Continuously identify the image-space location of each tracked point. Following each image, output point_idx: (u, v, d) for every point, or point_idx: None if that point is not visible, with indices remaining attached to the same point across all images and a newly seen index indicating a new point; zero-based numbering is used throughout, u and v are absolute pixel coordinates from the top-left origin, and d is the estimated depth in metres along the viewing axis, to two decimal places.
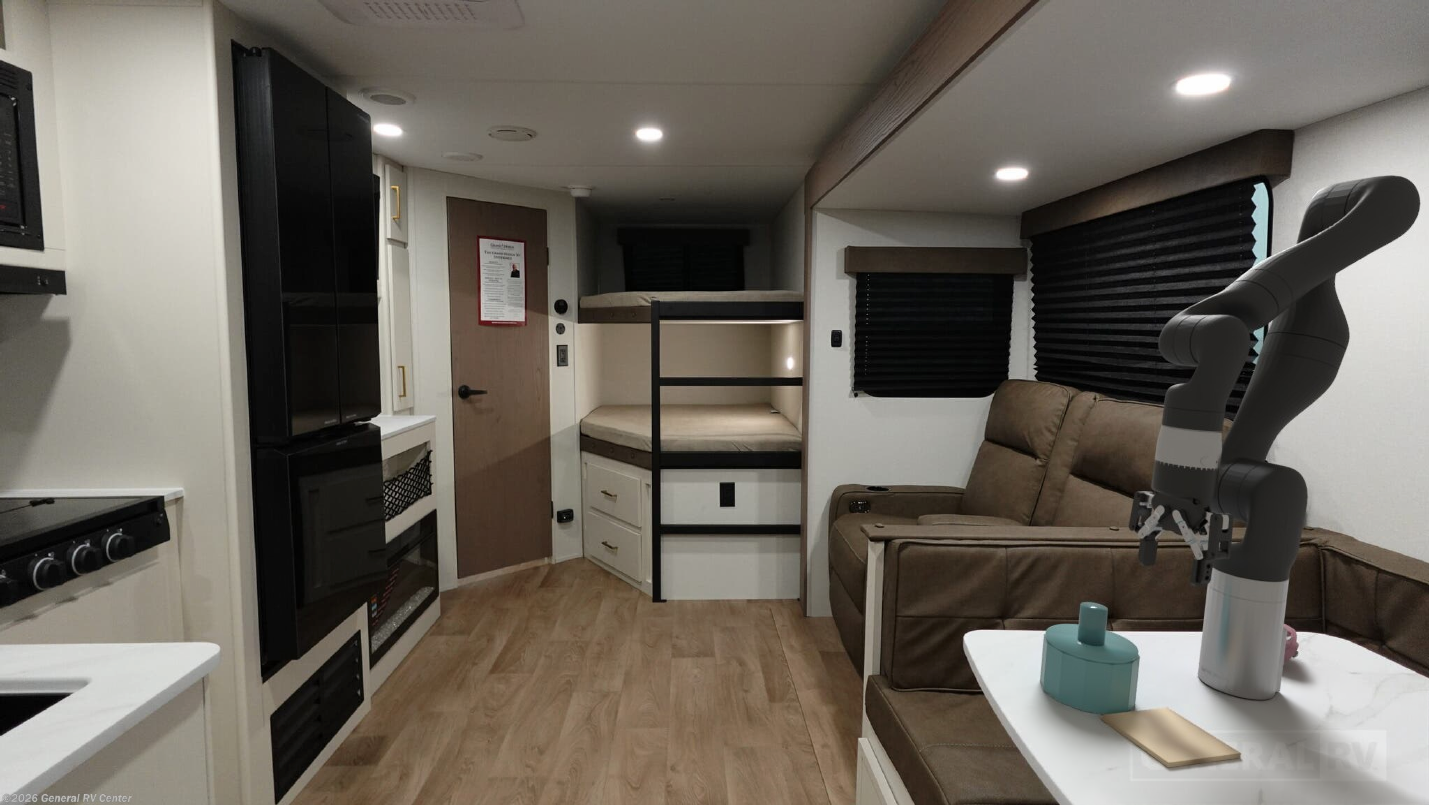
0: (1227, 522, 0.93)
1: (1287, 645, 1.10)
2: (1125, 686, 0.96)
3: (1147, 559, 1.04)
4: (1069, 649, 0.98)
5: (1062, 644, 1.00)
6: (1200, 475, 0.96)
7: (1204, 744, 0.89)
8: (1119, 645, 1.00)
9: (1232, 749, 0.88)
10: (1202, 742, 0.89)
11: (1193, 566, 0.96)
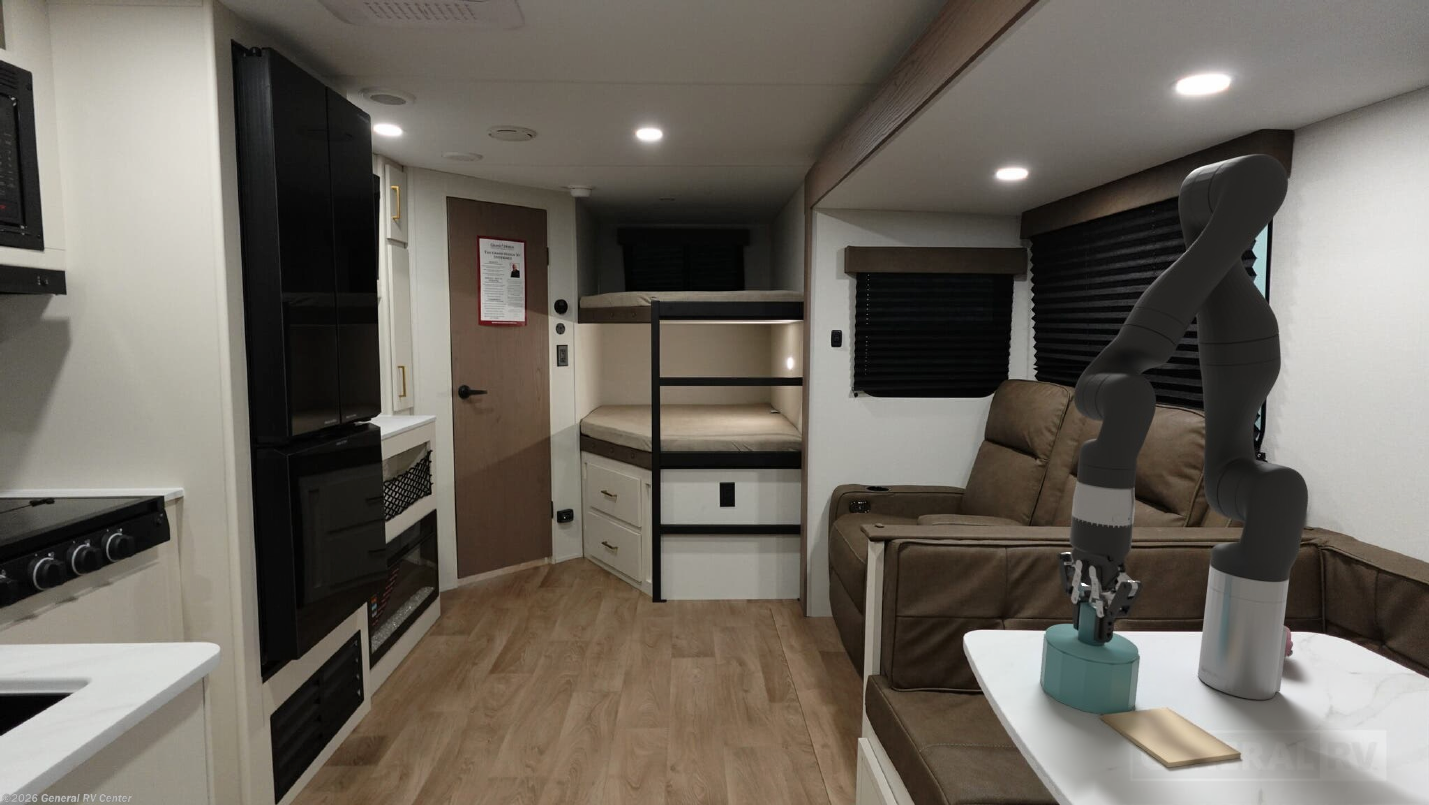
0: (1135, 591, 0.94)
1: None
2: (1125, 686, 0.96)
3: None
4: (1069, 649, 0.98)
5: (1062, 644, 1.00)
6: (1113, 533, 0.96)
7: (1204, 744, 0.89)
8: (1120, 645, 1.00)
9: (1232, 749, 0.88)
10: (1202, 742, 0.89)
11: (1096, 623, 0.99)
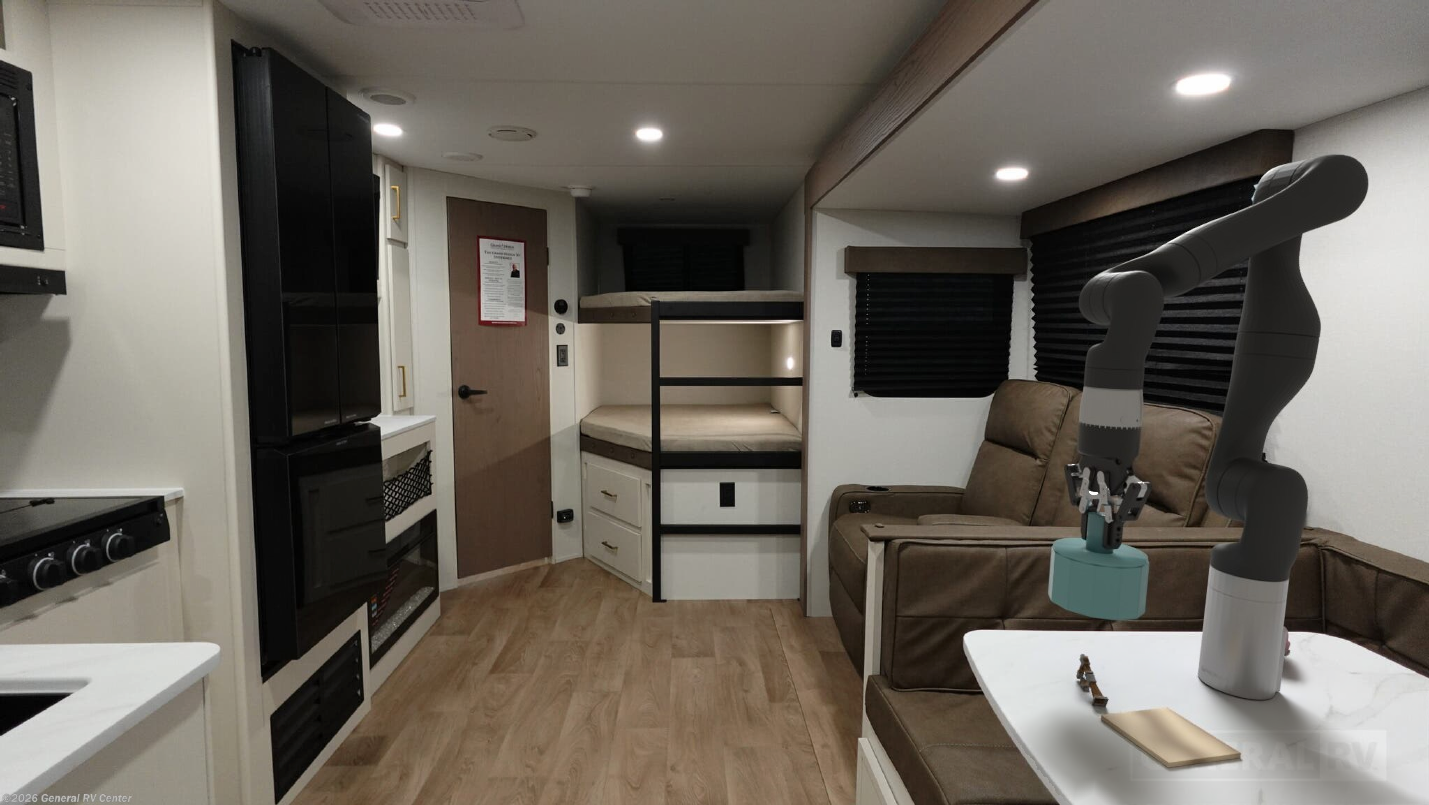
0: (1144, 492, 0.93)
1: None
2: (1135, 591, 0.95)
3: None
4: (1077, 556, 0.97)
5: (1070, 552, 0.98)
6: (1121, 434, 0.94)
7: (1204, 744, 0.89)
8: (1128, 553, 0.99)
9: (1232, 749, 0.88)
10: (1202, 742, 0.89)
11: (1104, 529, 0.98)
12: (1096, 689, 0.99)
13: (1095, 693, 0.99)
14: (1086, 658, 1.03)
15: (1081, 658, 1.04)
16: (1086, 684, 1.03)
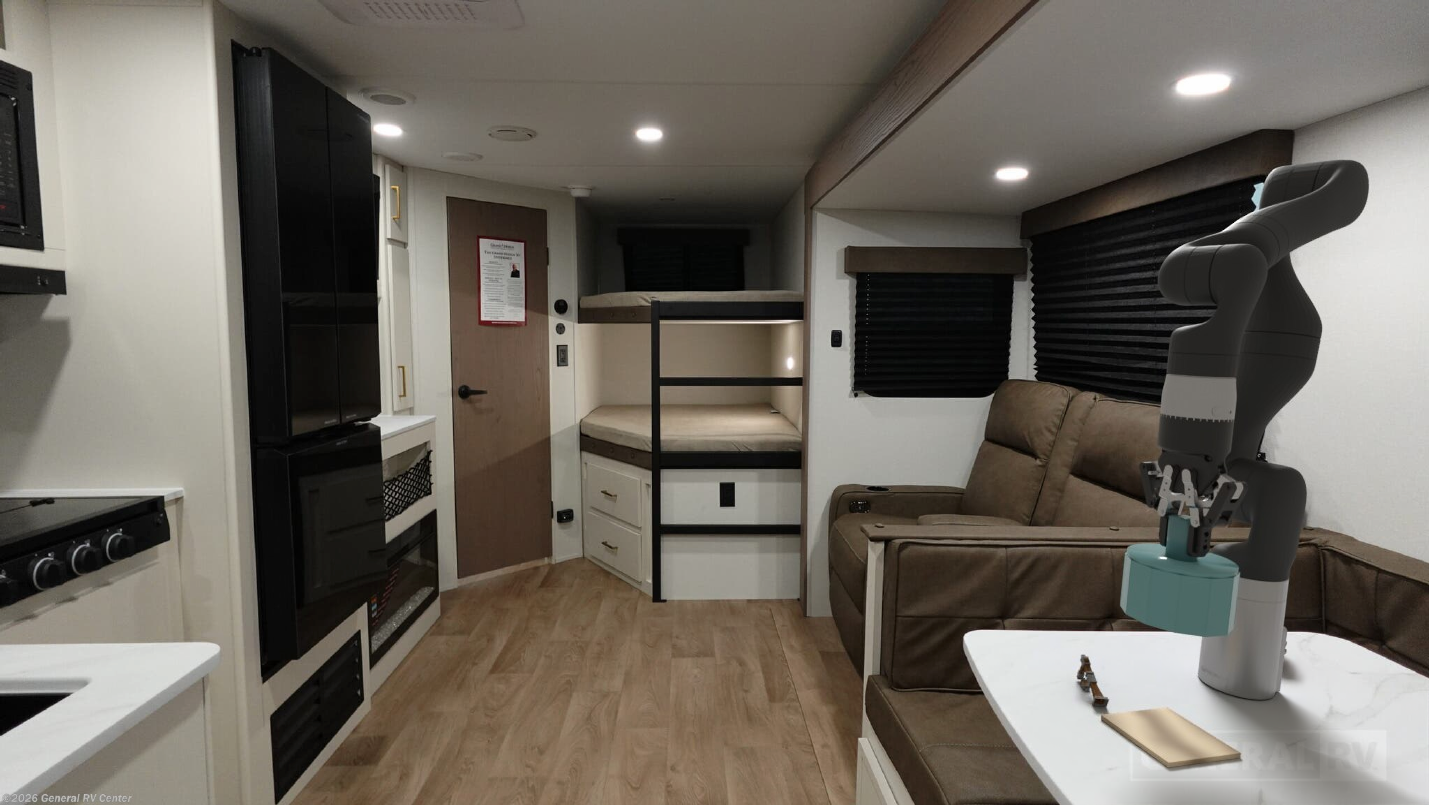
0: (1239, 493, 0.82)
1: None
2: (1225, 604, 0.84)
3: None
4: (1159, 564, 0.86)
5: (1149, 559, 0.88)
6: (1212, 428, 0.84)
7: (1204, 744, 0.89)
8: (1215, 561, 0.88)
9: (1232, 749, 0.88)
10: (1202, 742, 0.89)
11: (1189, 535, 0.87)
12: (1097, 689, 0.99)
13: (1096, 693, 0.99)
14: (1087, 658, 1.03)
15: (1082, 658, 1.04)
16: (1086, 684, 1.03)
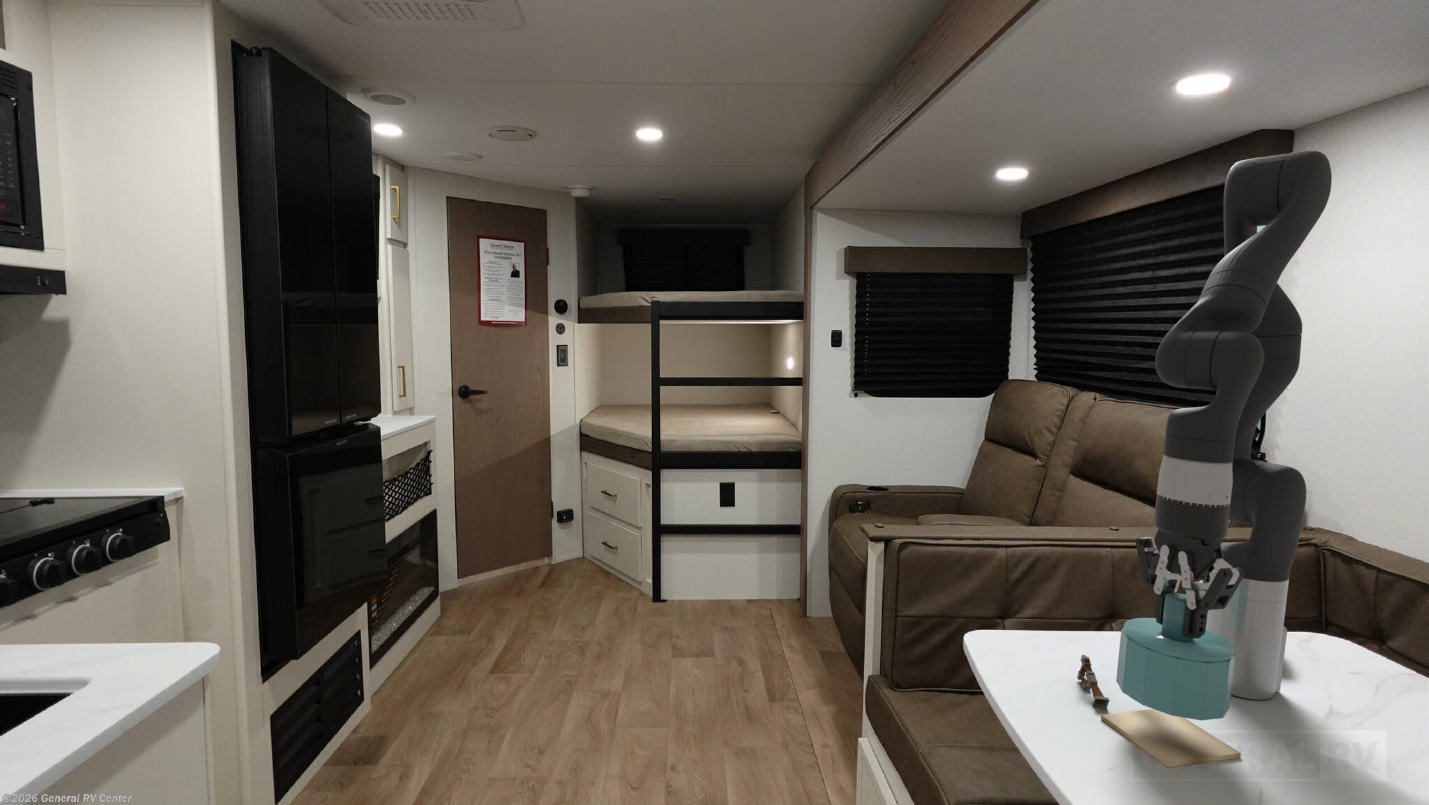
0: (1235, 579, 0.83)
1: None
2: (1221, 688, 0.85)
3: None
4: (1155, 645, 0.87)
5: (1146, 640, 0.88)
6: (1209, 513, 0.84)
7: (1204, 744, 0.89)
8: (1211, 641, 0.89)
9: (1232, 749, 0.88)
10: (1202, 742, 0.89)
11: (1186, 616, 0.87)
12: (1097, 690, 0.99)
13: (1096, 693, 0.99)
14: (1087, 659, 1.03)
15: (1082, 659, 1.04)
16: (1087, 685, 1.03)
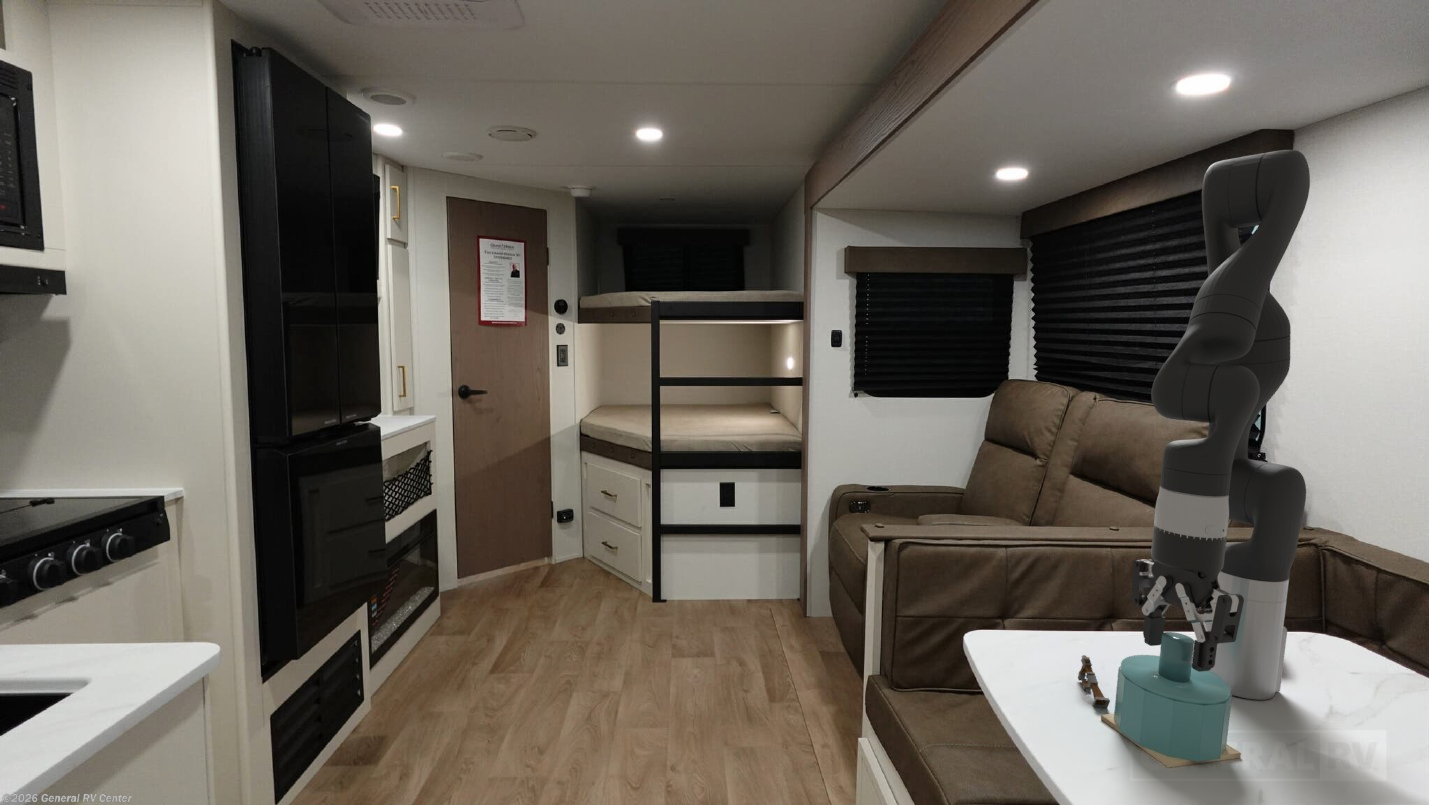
0: (1236, 605, 0.83)
1: None
2: (1217, 729, 0.85)
3: (1153, 638, 0.93)
4: (1152, 686, 0.87)
5: (1143, 680, 0.89)
6: (1205, 546, 0.85)
7: None
8: (1207, 681, 0.89)
9: (1232, 749, 0.88)
10: None
11: (1195, 649, 0.86)
12: (1097, 690, 0.99)
13: (1097, 694, 0.99)
14: (1088, 659, 1.03)
15: (1083, 659, 1.04)
16: (1087, 685, 1.03)
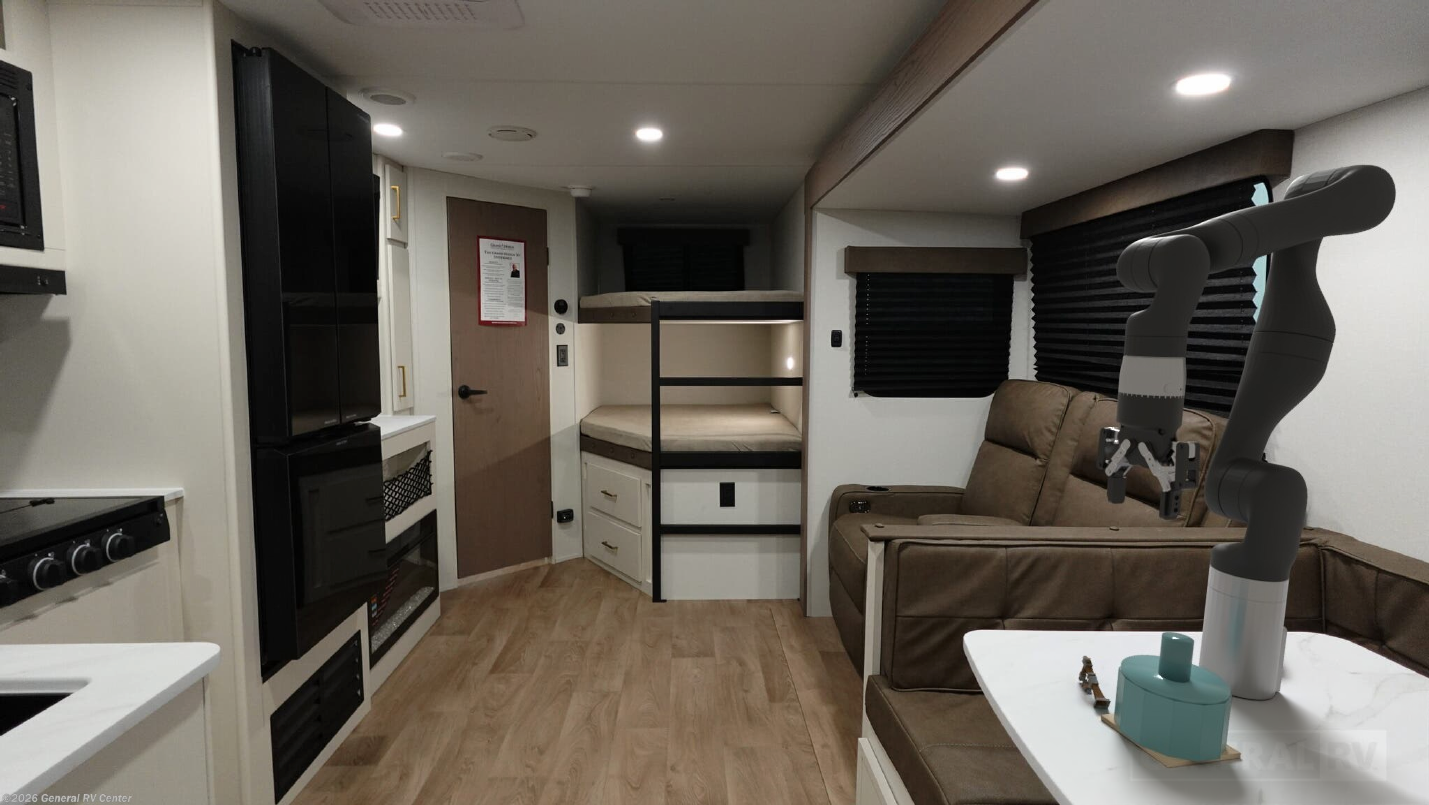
0: (1193, 450, 0.89)
1: None
2: (1217, 729, 0.85)
3: (1116, 497, 1.01)
4: (1152, 686, 0.87)
5: (1143, 680, 0.89)
6: (1164, 404, 0.92)
7: None
8: (1207, 681, 0.89)
9: (1232, 749, 0.88)
10: None
11: (1161, 499, 0.92)
12: (1098, 691, 0.99)
13: (1097, 695, 0.98)
14: (1089, 660, 1.03)
15: (1083, 660, 1.03)
16: (1088, 686, 1.03)
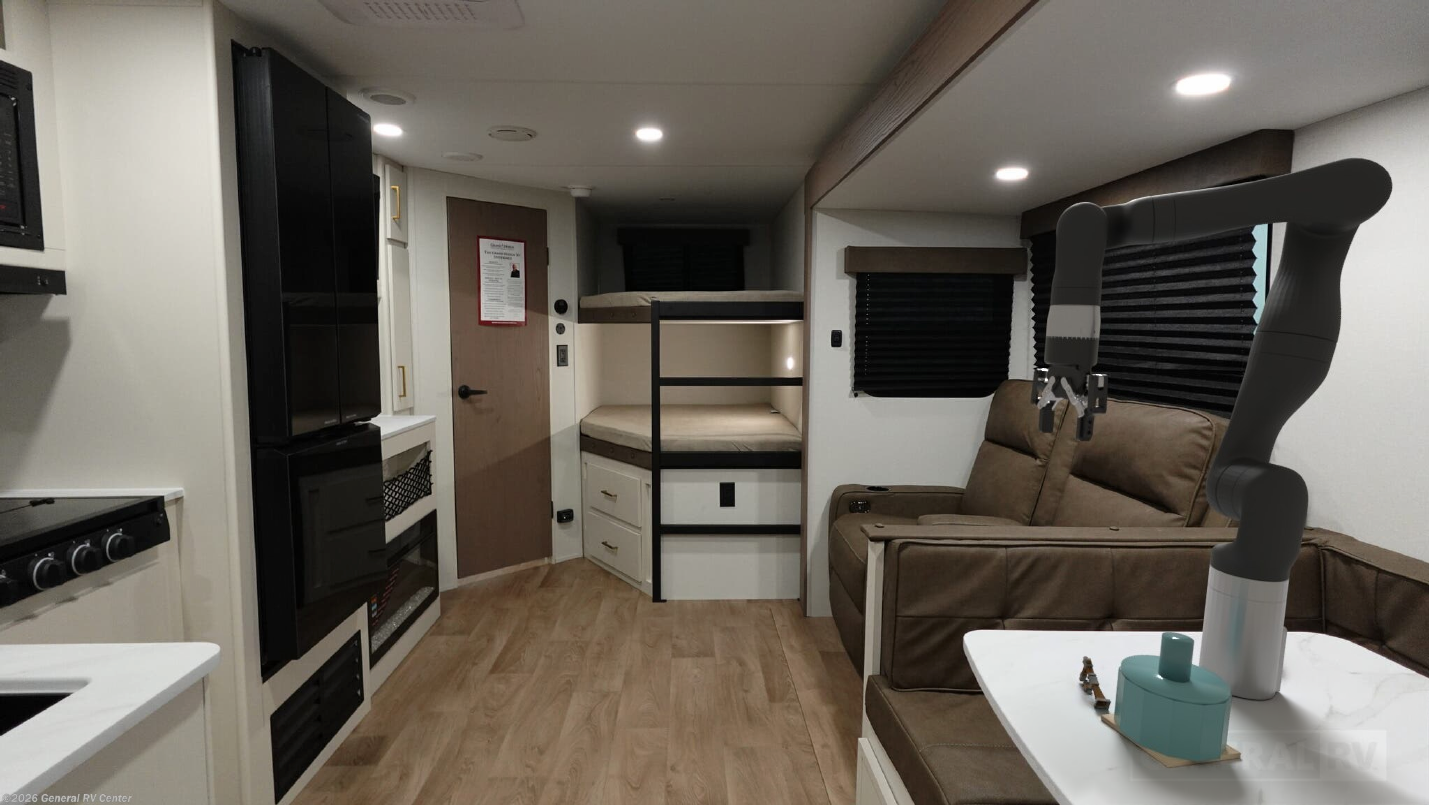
0: (1102, 381, 1.08)
1: None
2: (1217, 729, 0.85)
3: (1045, 427, 1.19)
4: (1152, 686, 0.87)
5: (1143, 680, 0.89)
6: (1080, 343, 1.10)
7: None
8: (1207, 681, 0.89)
9: (1232, 749, 0.88)
10: None
11: (1077, 423, 1.11)
12: (1099, 691, 0.99)
13: (1098, 695, 0.98)
14: (1089, 660, 1.03)
15: (1084, 660, 1.03)
16: (1089, 686, 1.02)
